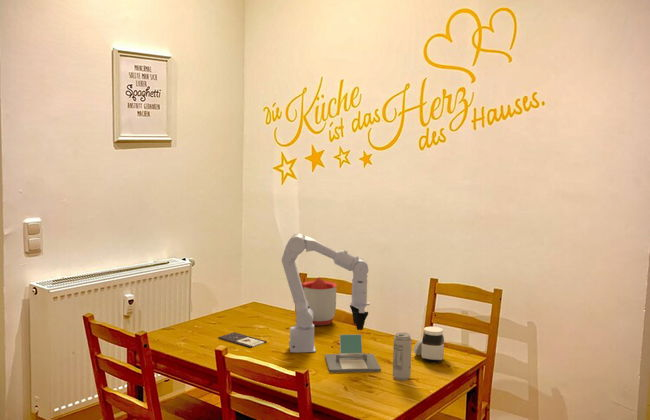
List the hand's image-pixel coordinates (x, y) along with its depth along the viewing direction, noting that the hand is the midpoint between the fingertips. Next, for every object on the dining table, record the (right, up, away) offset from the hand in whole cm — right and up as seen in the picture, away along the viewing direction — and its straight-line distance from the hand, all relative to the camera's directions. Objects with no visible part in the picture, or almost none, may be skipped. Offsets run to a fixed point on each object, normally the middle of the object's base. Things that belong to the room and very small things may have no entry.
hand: (358, 326), depth 249 cm
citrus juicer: (-16, -5, +38) cm, 42 cm away
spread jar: (+26, -11, -6) cm, 28 cm away
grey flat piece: (-3, -11, -14) cm, 18 cm away
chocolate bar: (-45, -8, +11) cm, 48 cm away
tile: (-3, -5, -10) cm, 11 cm away
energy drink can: (+13, -13, -26) cm, 32 cm away
